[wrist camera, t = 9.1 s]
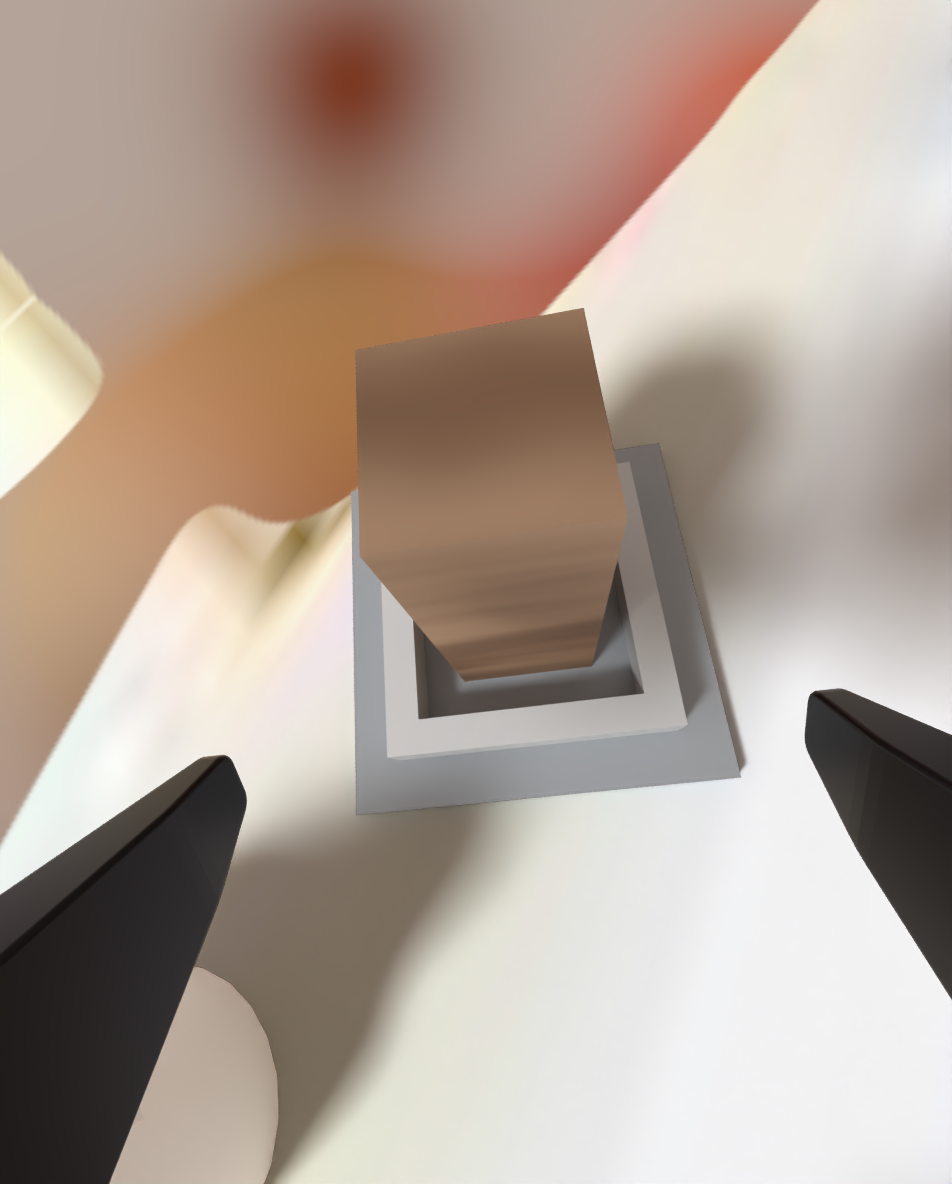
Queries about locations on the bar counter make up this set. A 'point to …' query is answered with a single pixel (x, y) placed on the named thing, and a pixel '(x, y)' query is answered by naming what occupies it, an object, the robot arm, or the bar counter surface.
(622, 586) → the bay tray
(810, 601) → the bar counter surface
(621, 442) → the bar counter surface
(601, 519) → the tapered wooden block
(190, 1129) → the cylinder with rectangular tab
